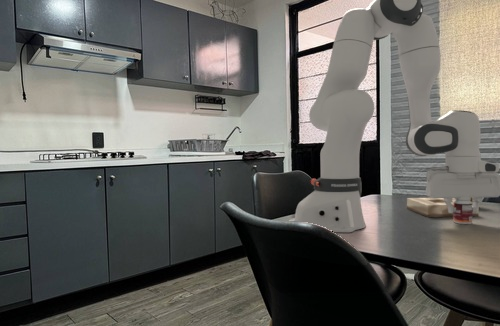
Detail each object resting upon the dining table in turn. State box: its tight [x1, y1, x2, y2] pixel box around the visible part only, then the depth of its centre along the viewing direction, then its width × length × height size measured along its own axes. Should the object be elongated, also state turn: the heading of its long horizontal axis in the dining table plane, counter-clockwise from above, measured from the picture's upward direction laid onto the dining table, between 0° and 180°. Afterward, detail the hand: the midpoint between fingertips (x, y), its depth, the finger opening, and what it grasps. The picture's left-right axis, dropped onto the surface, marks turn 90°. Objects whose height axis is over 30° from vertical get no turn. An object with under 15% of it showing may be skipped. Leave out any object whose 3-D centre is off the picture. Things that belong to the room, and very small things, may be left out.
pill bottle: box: [452, 195, 473, 225], centre depth 102 cm, size 5×5×8 cm
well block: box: [406, 197, 480, 218], centre depth 119 cm, size 16×16×4 cm
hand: (462, 212), depth 102 cm, fingers closed on pill bottle, 5 cm apart
